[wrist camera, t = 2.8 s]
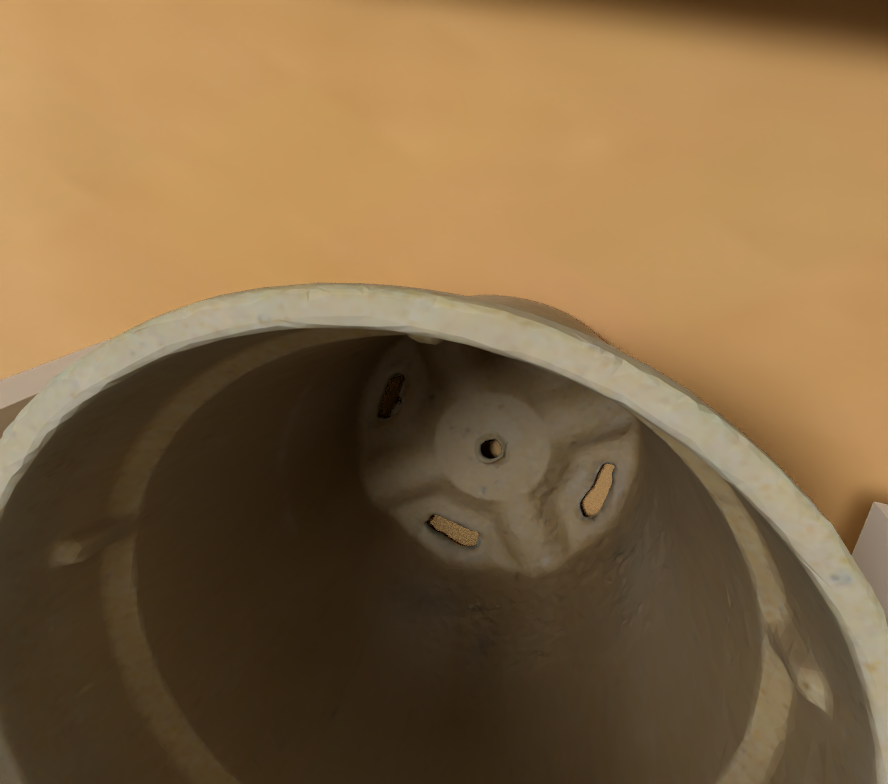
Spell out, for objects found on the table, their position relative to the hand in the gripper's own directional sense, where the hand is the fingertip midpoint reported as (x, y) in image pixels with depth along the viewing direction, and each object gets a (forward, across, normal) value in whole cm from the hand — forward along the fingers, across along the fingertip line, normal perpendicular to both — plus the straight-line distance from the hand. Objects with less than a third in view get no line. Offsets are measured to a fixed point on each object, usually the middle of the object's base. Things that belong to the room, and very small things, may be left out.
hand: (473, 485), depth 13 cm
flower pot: (+2, 0, 0) cm, 2 cm away
